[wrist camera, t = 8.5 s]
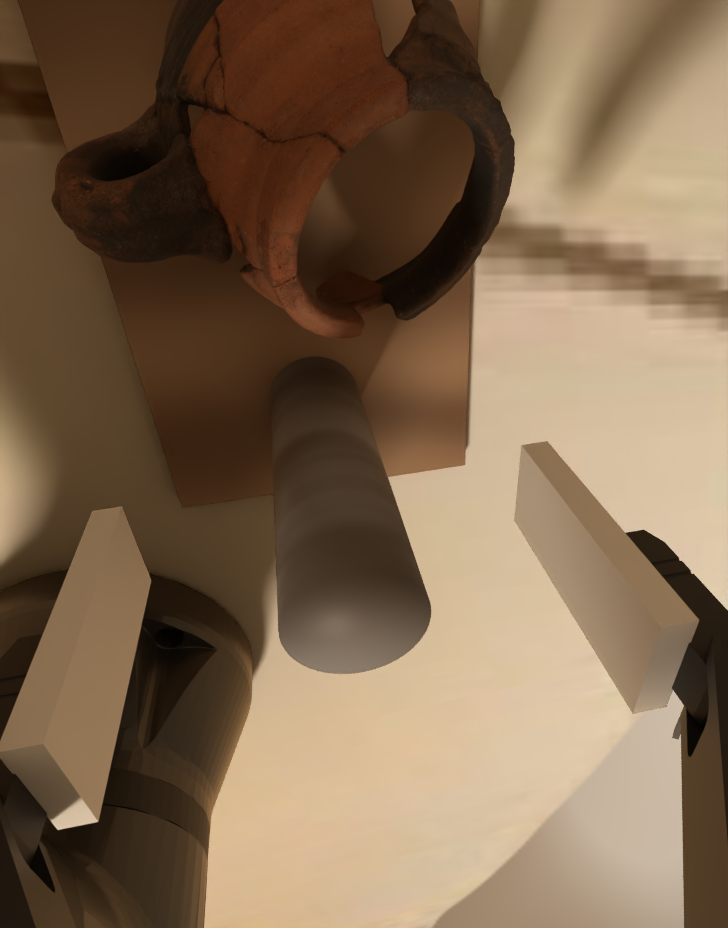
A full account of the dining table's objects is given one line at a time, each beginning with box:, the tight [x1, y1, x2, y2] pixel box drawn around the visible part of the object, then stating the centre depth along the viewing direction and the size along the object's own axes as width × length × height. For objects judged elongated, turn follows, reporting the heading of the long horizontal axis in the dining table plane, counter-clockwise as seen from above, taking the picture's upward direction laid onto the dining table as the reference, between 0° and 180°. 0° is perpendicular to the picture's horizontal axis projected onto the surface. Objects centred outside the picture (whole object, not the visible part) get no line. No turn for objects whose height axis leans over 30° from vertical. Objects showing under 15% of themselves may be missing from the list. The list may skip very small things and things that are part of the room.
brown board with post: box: [18, 0, 479, 674], centre depth 16 cm, size 19×13×13 cm
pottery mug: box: [52, 0, 515, 338], centre depth 16 cm, size 12×10×8 cm
